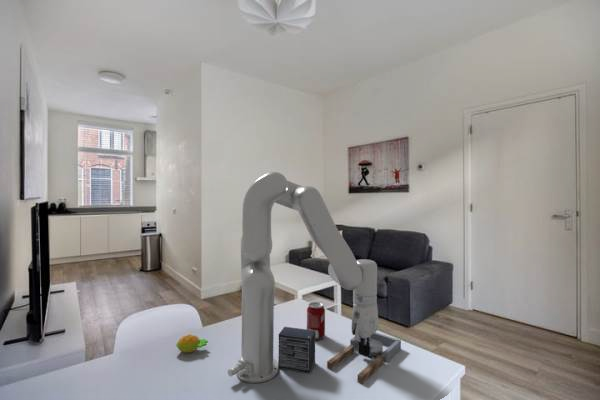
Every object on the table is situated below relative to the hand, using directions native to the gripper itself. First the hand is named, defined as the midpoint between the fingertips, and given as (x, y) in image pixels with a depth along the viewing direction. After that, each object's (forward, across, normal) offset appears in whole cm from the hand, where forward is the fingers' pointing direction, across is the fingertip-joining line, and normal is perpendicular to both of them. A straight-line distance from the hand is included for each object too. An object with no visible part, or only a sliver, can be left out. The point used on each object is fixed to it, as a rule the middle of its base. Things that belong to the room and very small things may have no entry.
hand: (363, 354), depth 97 cm
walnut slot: (+1, -5, 0) cm, 5 cm away
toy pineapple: (+2, -35, +46) cm, 57 cm away
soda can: (+2, +2, +21) cm, 21 cm away
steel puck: (+1, +5, 0) cm, 5 cm away
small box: (+2, -17, +14) cm, 22 cm away
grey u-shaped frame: (+1, +8, 0) cm, 8 cm away
